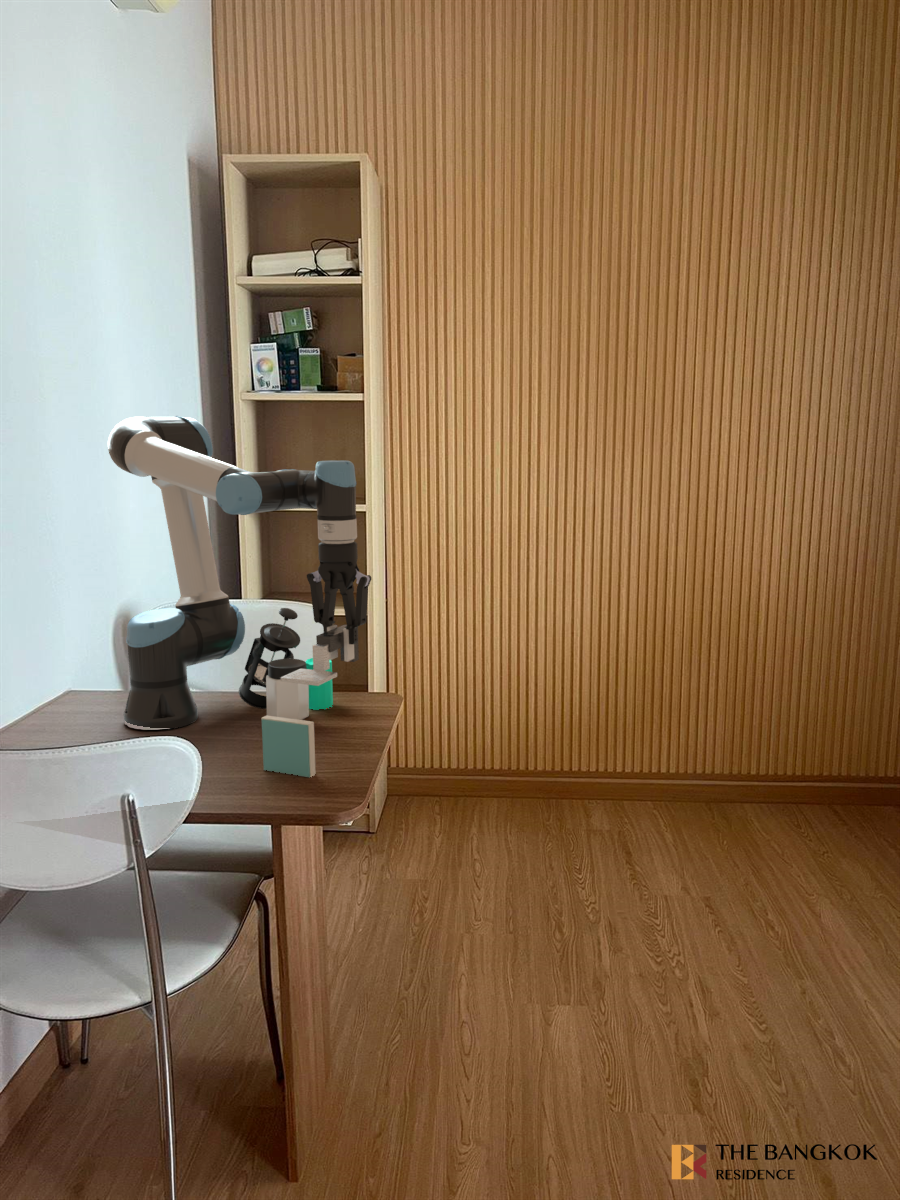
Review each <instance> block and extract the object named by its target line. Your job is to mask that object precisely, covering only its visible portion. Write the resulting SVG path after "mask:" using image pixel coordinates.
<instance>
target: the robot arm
mask: <svg viewBox="0 0 900 1200" xmlns="http://www.w3.org/2000/svg"><path fill="white" fill-rule="evenodd" d="M212 441H213V440H212V439H211V436H210V434H209V431H208V430H207V428H206V427H205V426H204V425H203V424H202V423H200V422H199V420H196V419H195V418H193V417H186V416H185V417H184V416H179V415H175V416H133V417H128V418H125V419H123V420H122V421H120V422H119V423H117V424H116V425H115V426H114V428H113V429H112V430H111V432H110V433H109V436H108V440H107V450H108V454H109V456H110V459H111V461H112V462H113V463H114V464H115V465H116V466H117V467H118V468H120V469H121V470H122V471H125V472H127V473H129V474H132V475H134V476H137V477H141V478H142V477H143V478H144V477H149V476H150V477H151V481H152V484H154V485H156V486H157V487H158V488H160V490H161V497H162V502H163V507H164V513H165V518H166V524H167V528H168V533H169V535H168V536H169V539H170V540H169V541H170V546H171V551H172V555H173V557H172V558H173V560H174V565H175V572H176V576H177V577H176V578H177V583H178V589H179V593H180V596H179V599H178V600H177V602H176V603H175V605H174V607H175V608H174V607H161V608H158V609H151V610H150V609H149V610H146V611H143V612H139V613H137V614H136V615H135V616H133V617H132V618H130V619H129V621H128V623H127V625H126V641H125V642H126V645H127V655H128V670H129V681H130V682H129V683H130V684H129V686H130V688H129V692H128V696H127V700H126V705H125V709H124V710H123V711H124V712H123V721H124V720H125V721H126V722H127V723H130V724H133V725H137V726H143V727H150V728H174V729H179V728H182V727H186V726H188V725H191V724H193V723H195V722H196V721H197V720H198V719H199V713H198V706H197V704H196V703H195V700H194V698H193V694H192V692H191V691H192V690H191V688H190V685H189V682H188V670H187V669H188V668H187V667H191V666H194V665H198V664H203V663H205V662H210V661H214V660H220V659H223V658H225V657H228V656H230V655H232V654H234V653H235V652H237V651H238V650H239V649H240V647H241V645H242V644H243V642H244V638H245V634H246V624H245V618H244V616H243V613H242V612H241V611H239V607H237V606H236V605H234V604H232V603H231V602H230V598H229V595H228V594H227V593H225V592H224V591H223V590H221V587H220V581H219V576H218V570H217V565H216V561H215V559H216V558H215V555H214V549H213V544H212V538H211V532H210V527H209V522H208V517H207V511H206V505H205V499H204V497H205V498H207V499H210V500H213V501H215V502H217V504H218V506H219V507H220V508H221V510H222V511H223V512H225V514H228V515H233V516H234V515H235V516H236V515H239V516H247V515H250V514H259V513H266V512H277V511H286V510H295V509H296V510H297V509H303V510H304V509H305V510H306V509H309V510H310V509H311V510H312V509H313V510H316V515H317V516H316V518H317V539H318V540H319V541H320V542H318V547H317V548H318V550H317V551H318V560H319V566H318V567H317V570H315V571H314V572H310V573H307V574H306V579H307V581H308V583H309V587H310V588H309V589H310V594H311V596H310V597H311V605H312V613H313V621H314V622H315V624H316V623H318V624H321V625H322V627H323V633H325V632H327V631H330V630H332V629H335V628H337V627H338V625H337V624H335V623H336V620H335V611H336V604H337V603H336V602H337V593H338V591H339V593H340V595H341V598H342V602H343V610H344V616H345V623H346V625H347V626H346V627H345V628H344V629H343V630H344V661H343V662H347V663H348V662H350V660H352V659H354V644H356V643H357V641H358V642H359V637H358V638H357V628H358V629H359V627H361V626H363V625H365V624H366V623H367V616H368V615H367V614H368V600H369V599H368V598H369V597H368V596H369V586H370V584H371V581H372V576H371V575H369V574H368V575H366V574H364V573H362V572H361V571H360V568H359V566H358V543H357V542H356V541H355V540H356V539H357V538H358V525H357V523H358V522H357V479H356V470H355V469H356V468H355V465H354V463H353V462H352V461H350V460H331V459H330V460H319V461H317V462H316V464H315V470H307V469H306V470H305V469H304V470H303V469H302V470H301V469H295V468H289V469H286V468H285V469H279V470H276V471H261V472H259V471H258V472H255V471H250V470H248V469H247V470H246V469H243V468H240V467H238V466H236V465H233V464H230V463H227V462H225V461H221V460H218V459H215V458H212V456H213V455H214V454H213V453H214V449H213V448H214V447H213V442H212ZM322 580H323V582H324V590H323V583H322ZM355 581H356V584H357V587H356V595H354V592H355V588H354V583H355ZM324 593H325V594H324ZM355 596H356V598H355ZM338 657H339V649H337V650H335V651H333V652H329V660H331V661H332V660H334V659H336V658H338ZM178 727H179V728H178Z"/></svg>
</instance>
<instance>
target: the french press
mask: <svg viewBox="0 0 900 1200" xmlns="http://www.w3.org/2000/svg"><path fill="white" fill-rule="evenodd" d="M278 614H279V615H280V616H281V617H282V618H283V620H284V622H283V624H280V623H271V622H270V623H265V624H264V625H262V626H261V627H260V630H259V633H260V637H256V638H254V639H253V643H252V646H251V648H250V651H249V654H248V657H247V660H246V663H245V667H244V670H245V671H246V673H247V674H246V675H244V677H243V680H242V682H241V684H240V686H239V688H238V695H239V697H240V699H241V700H242V701H243V702H244V703H246V704H247V705H249V706H251V707H253V708H256V709H260V710H261V709H262V710H267V702H266V695H262V694H258V693H256V692H254V691H252V690H251V687H252V686H259V687H263V688H265V689H266V676H267V675H268V663H269V662H271V661H274V658H275V655H276V652H281V651H282V652H283V653H284V657H283V659H295V657H294V654H293V651H291V650H290V649H296V648H297V647H299V645H300V644H301V637H300V635H299V634H298V632H297V631H296V630H294V629H292V628H291V627H289V626H287V624H286V623H287V621H289V620H297V619H298V616H299V615H298V613H297V612H296V611H295V610H293V609H292V608H288V607H281V608H279V610H278ZM265 649H267V650H268V651H270V652H273V654H272V655H271V659H270V661H269V662H268V661H266V660H264V659H263V658H262V656H263V653H264V650H265Z"/></svg>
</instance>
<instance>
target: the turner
mask: <svg viewBox="0 0 900 1200" xmlns="http://www.w3.org/2000/svg"><path fill="white" fill-rule="evenodd" d="M346 626H347V624H343V625H339V626H337V628H335V629H332V630H330V631H327V632H325V633H324V632H322V633H320V634H317V635H316V638H315V640H316V643H315V644H314V645H312V658H313V670H310V669H298V670H296V671H294V672H292V673H289V674H287V675H285V676H283V677H281V682H289V683H297V684H306V685H315V686H319V685H321V684H323V683H325V682H327V681H329V680H331V679H332V680H333V679H335V678H338V672H336V671H332V672H329V671H325V670H328V669H330V664H329V652H333V651H335V650H337V649H338V650H339V649H340V661H341V662H345V661H344V630H343V629H344V628H345V627H346ZM357 638H358V639H359V627H358V628H357ZM358 660H360V657H359V640H358V641H357V643H356V644H354V659H352V660H350V661H349V662H351V663H352V662H353V663H355V662H357V661H358Z"/></svg>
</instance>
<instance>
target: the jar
mask: <svg viewBox="0 0 900 1200" xmlns="http://www.w3.org/2000/svg"><path fill="white" fill-rule="evenodd" d="M270 661H271V660H270ZM270 661H269V662H268V675H267V676H266V688H265V689H266V691H265V692H266V695H265V696H266V702H267V709H266V715H267V716H274V717H282V718H289V719H297V720H305V719H306V718H308V717H309V715H310V709H309V685H306V684H297V683H289V682H281V677H283V676H285V675H287V674H289V673H292V672H294V671H296V670H298V669H307V667H306V660H302V659H298V658H294V659H284V658H279V659H275V660H274V659H273V660H272V661H271V662H270Z"/></svg>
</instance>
